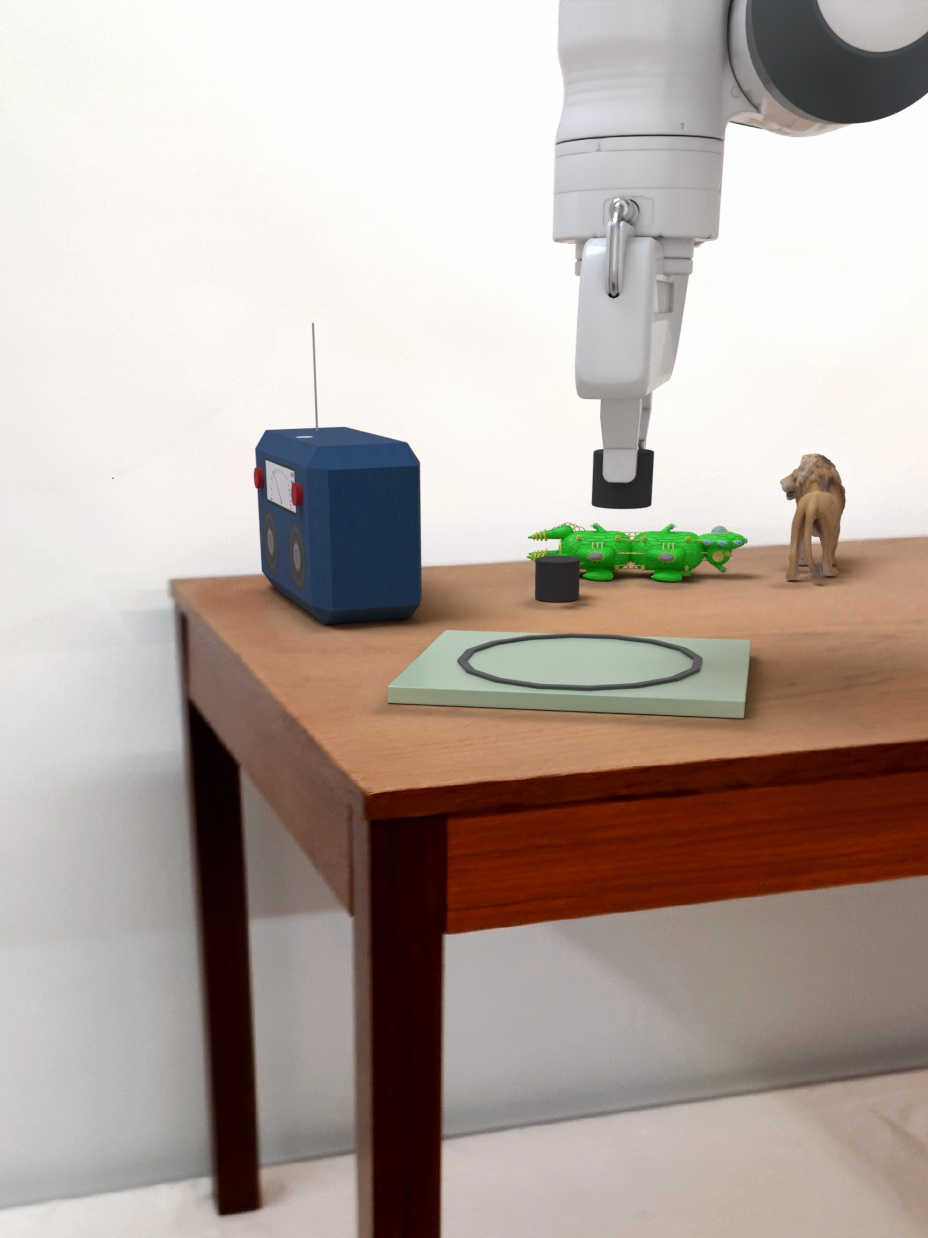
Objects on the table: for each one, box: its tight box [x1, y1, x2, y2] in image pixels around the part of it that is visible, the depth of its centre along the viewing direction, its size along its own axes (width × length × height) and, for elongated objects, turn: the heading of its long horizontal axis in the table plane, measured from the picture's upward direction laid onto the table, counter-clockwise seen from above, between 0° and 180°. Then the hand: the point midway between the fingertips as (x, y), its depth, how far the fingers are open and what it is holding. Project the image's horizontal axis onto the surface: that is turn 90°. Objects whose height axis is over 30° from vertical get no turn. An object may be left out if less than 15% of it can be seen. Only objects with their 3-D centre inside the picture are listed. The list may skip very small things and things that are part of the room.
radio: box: [253, 322, 423, 625], centre depth 110 cm, size 21×9×20 cm, turn 18°
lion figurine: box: [779, 452, 847, 580], centre depth 122 cm, size 15×5×9 cm, turn 171°
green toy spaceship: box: [526, 521, 749, 582], centre depth 122 cm, size 7×18×4 cm, turn 80°
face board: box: [387, 629, 752, 719], centre depth 89 cm, size 20×16×1 cm
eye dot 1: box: [534, 555, 581, 603], centre depth 113 cm, size 3×3×3 cm
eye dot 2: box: [591, 448, 655, 510], centre depth 83 cm, size 3×3×3 cm
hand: (624, 476), depth 83 cm, fingers closed on eye dot 2, 3 cm apart
